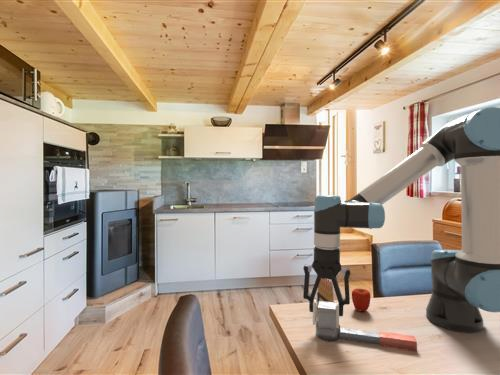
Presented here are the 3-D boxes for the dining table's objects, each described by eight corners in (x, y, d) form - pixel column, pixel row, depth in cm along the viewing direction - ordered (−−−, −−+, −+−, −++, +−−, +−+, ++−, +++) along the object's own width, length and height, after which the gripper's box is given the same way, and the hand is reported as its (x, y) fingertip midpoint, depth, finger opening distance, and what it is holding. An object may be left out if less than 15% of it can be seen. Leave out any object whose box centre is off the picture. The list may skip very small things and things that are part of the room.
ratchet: (412, 341, 81) (412, 318, 81) (418, 355, 74) (418, 330, 74) (317, 328, 89) (316, 307, 89) (314, 339, 82) (314, 317, 83)
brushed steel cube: (336, 322, 86) (336, 302, 86) (335, 330, 82) (335, 309, 82) (319, 320, 88) (319, 300, 88) (318, 327, 83) (317, 307, 83)
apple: (358, 315, 98) (358, 293, 98) (348, 307, 104) (348, 287, 104) (374, 313, 99) (374, 291, 99) (363, 306, 105) (363, 285, 105)
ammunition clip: (335, 317, 96) (334, 282, 96) (330, 317, 96) (329, 282, 96) (321, 304, 107) (321, 272, 107) (317, 305, 107) (316, 273, 107)
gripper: (360, 246, 85) (359, 323, 85) (297, 242, 91) (296, 314, 91) (361, 252, 78) (360, 336, 78) (293, 246, 84) (292, 324, 84)
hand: (325, 324), depth 85 cm, fingers open, 6 cm apart
